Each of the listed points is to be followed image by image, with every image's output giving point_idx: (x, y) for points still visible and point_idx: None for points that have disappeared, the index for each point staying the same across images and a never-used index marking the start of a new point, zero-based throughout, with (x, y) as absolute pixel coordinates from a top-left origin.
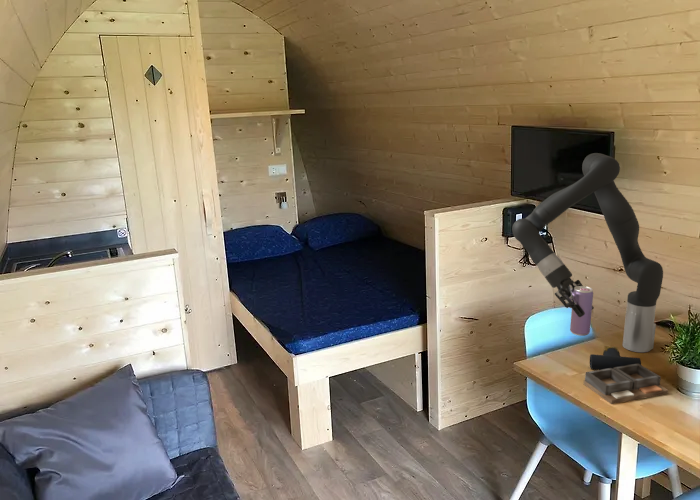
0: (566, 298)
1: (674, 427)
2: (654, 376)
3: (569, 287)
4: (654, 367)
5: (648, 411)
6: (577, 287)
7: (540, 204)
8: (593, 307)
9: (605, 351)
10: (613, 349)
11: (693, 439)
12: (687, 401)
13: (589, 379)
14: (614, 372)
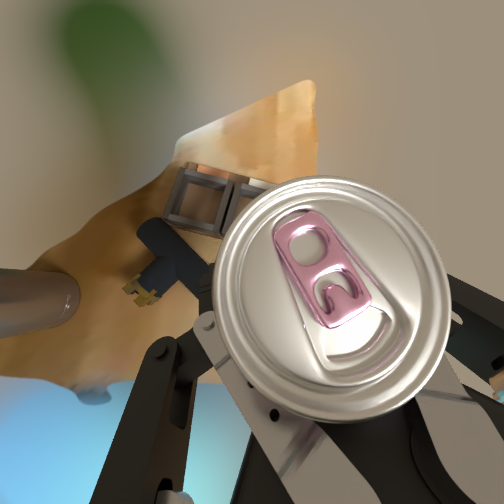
0: (498, 303)
1: (269, 117)
2: (189, 172)
3: (492, 440)
4: (117, 226)
5: (262, 153)
6: (352, 384)
7: None
8: (210, 264)
9: (156, 293)
10: (144, 280)
11: (274, 94)
12: (190, 140)
13: None
14: (231, 220)
